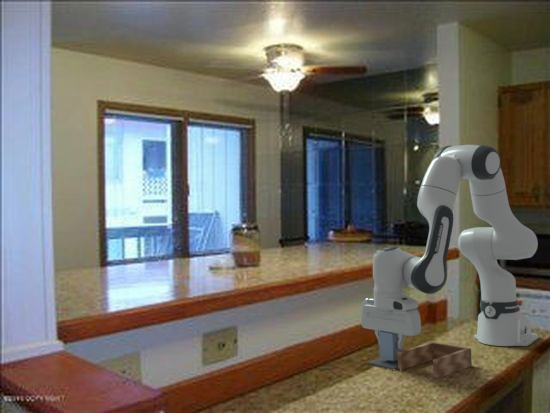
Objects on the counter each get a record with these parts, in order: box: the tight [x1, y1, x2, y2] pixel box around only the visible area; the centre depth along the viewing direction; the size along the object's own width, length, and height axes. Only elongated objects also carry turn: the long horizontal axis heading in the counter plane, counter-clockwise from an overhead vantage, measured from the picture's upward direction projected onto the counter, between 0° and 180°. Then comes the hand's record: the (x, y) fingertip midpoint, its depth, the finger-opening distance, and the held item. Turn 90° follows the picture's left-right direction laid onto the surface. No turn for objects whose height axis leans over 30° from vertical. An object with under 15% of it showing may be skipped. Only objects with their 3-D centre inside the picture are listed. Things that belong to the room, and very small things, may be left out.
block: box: [378, 331, 404, 361], centre depth 171 cm, size 5×5×8 cm
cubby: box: [397, 341, 473, 380], centre depth 164 cm, size 17×13×5 cm
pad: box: [366, 357, 398, 370], centre depth 170 cm, size 10×10×1 cm
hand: (390, 346), depth 170 cm, fingers open, 5 cm apart
